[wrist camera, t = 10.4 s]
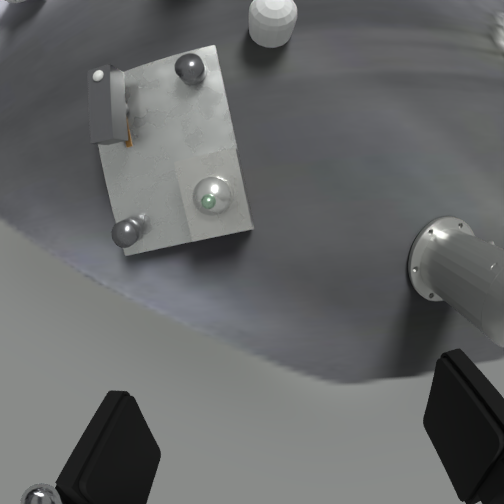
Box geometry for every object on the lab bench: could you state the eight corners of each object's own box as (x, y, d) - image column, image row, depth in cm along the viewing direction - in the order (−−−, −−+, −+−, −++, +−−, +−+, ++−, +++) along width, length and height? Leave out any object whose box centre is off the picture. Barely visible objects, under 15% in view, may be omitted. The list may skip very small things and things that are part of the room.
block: (134, 141, 32) (112, 138, 26) (114, 145, 32) (89, 143, 27) (129, 77, 30) (109, 63, 24) (110, 82, 30) (86, 70, 24)
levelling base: (217, 53, 33) (207, 21, 23) (253, 223, 38) (254, 243, 29) (99, 90, 33) (61, 74, 24) (133, 249, 39) (102, 274, 30)
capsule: (299, 27, 32) (310, -1, 24) (276, 55, 33) (282, 30, 25) (264, 7, 31) (267, -24, 23) (240, 34, 32) (237, 6, 24)
